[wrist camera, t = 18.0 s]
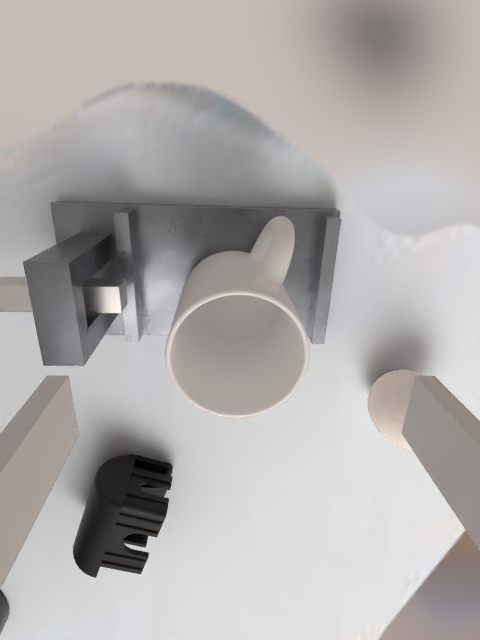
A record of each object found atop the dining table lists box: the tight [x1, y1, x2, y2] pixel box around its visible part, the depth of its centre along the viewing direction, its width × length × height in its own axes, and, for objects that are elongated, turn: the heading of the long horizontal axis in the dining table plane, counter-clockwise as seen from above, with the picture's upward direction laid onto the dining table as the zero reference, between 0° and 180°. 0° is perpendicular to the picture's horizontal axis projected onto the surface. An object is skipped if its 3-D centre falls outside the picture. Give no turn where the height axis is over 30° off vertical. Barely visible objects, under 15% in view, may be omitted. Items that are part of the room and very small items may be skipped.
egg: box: [368, 370, 424, 450], centre depth 33 cm, size 6×6×8 cm
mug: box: [165, 216, 310, 417], centre depth 25 cm, size 12×8×10 cm
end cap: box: [73, 455, 173, 578], centre depth 37 cm, size 10×7×7 cm
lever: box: [0, 277, 128, 313], centre depth 25 cm, size 15×3×8 cm, turn 88°
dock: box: [23, 201, 341, 366], centre depth 26 cm, size 22×11×10 cm, turn 88°
